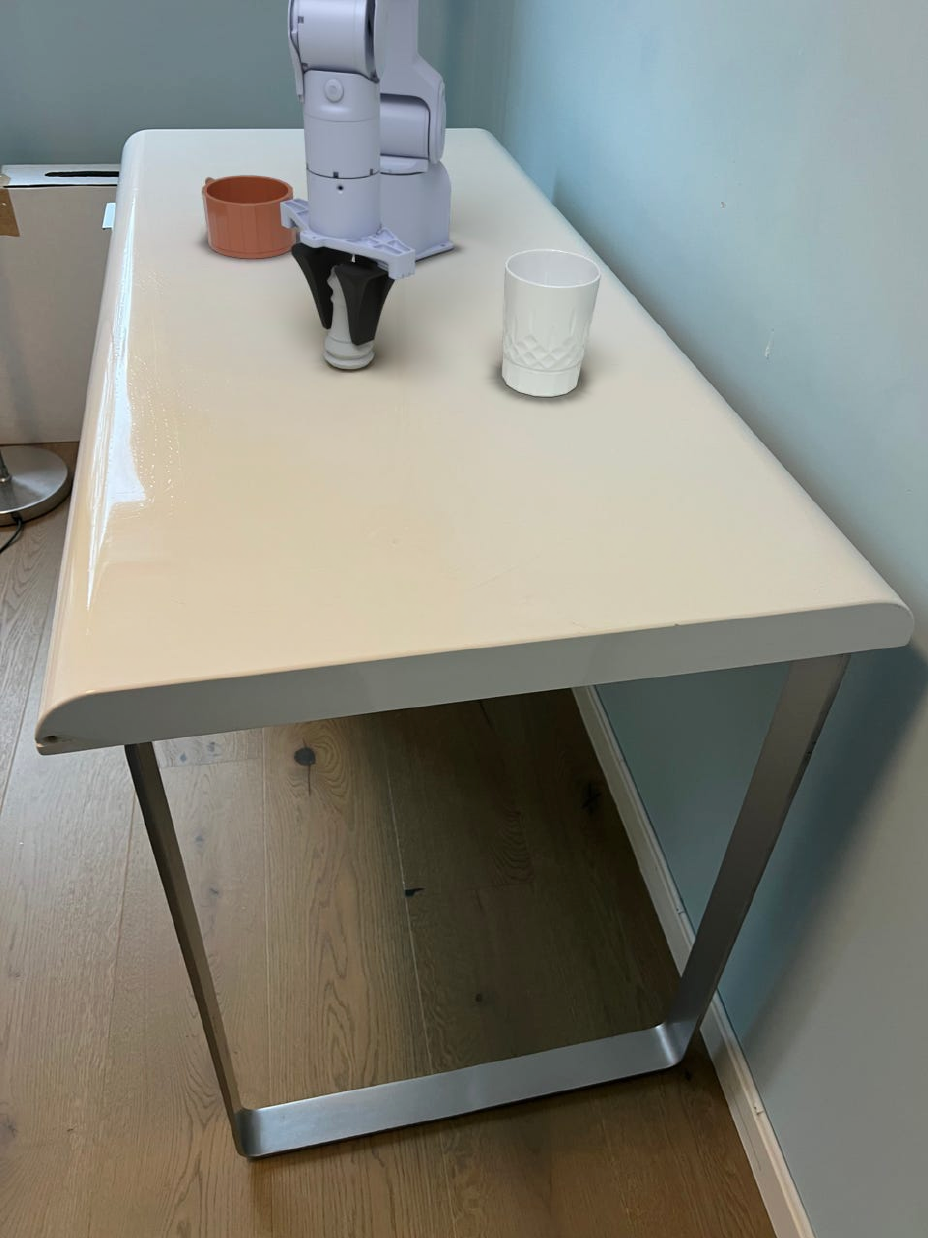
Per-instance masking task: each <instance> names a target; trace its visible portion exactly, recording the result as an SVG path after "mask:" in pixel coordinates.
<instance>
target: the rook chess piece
mask: <svg viewBox="0 0 928 1238" xmlns="http://www.w3.org/2000/svg"><path fill="white" fill-rule="evenodd" d="M341 265H342V264H341ZM335 266H337V265H335ZM335 266H334V267H335ZM334 267H333V269H331V275H330V277H329V278H328V280H327V282H328V284H329V285H330V287H331V288H332V289H333V295H332V296H331V301H332V302H333V319H332V326H331V329H328V334H327V335H326V337H325V339H324V342H323V346H324V351H323V356H324V358H325V359H326V361H327V362H328V364H330V365H332V366H333V367H335V368H339V369H342V370H343V369H345V370H355V369H361V368H364V367H366V366H367V365H369V364H370V363H371V361H372V360H373V358H374V356H375V352H374V350H373V348H374V342H373V341H370V342H367V343H365V344H362V345H359V346H356V345H354V344H352V341H351V338H350V334H349V326H348V315H347V307H346V302H345V298H344V294H343V291H342V288H341V285H340V283H339V280H338V278H337V276H336V274H335V272H334Z"/></svg>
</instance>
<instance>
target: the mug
mask: <svg viewBox="0 0 928 1238" xmlns="http://www.w3.org/2000/svg"><path fill="white" fill-rule="evenodd" d="M201 196H202V197H201V198H202V205H203V213H204V221H205V229H206V237H207V242H208V246H209V247H210V248H211V250H213V251H215V252H216V253H218V254H220V255H223V256H225V257H230V258H236V259H247V260H248V259H249V260H252V259H254V260H255V259H265V258H267V259H268V258H272V257H277V256H281V255H284V254H286V253H288V252H290V251H291V247H292V246H293V245H294V244H297V233H296V227H295V228H292V229H288V228H286V227H284V226H282V222H281V209H280V203H281V202H284V201H288V200H292V199H294V188H293V186H292V185H291V184H289V183H288V182H286V181H285V180H282V179H279V178H275V177H270V176H265V175H264V176H263V175H255V174H253V175H251V174H246V175H245V174H241V175H231V176H224V177H219V178H213V177H211V176H208V177H206V178H205V180H204V185H203V186H202V188H201Z"/></svg>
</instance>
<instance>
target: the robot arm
mask: <svg viewBox="0 0 928 1238" xmlns="http://www.w3.org/2000/svg"><path fill="white" fill-rule="evenodd" d="M287 38H288V48H289V49H288V50H289V56H290V60H291V64H292V68H293V74H294V80H295V94H296V98H297V99H296V100H297V102H301V103H302V118H303V133H304V134H303V135H304V153H305V154H304V155H305V173H306V174H305V176H306V191H307V192H306V193H307V200H305V199H302V198H300V197H297V198H293V199H292V200H288V201H284V202H281V203H280V209H281V222H282V226H284V227H286V228H288V229H292V228H295V229H297V230H299V231H300V233H299V241H300V242H296V244H294V245H293V246H292V247H291V250H290V251H291V252H290V253H291V256H292V257H293V259H294V261H296V263H297V265H298V267H299V268H300V270H301V272H302V274H303V277H305V280H306V282H307V285H308V286H309V289H310V292H311V295H312V299H313V300H314V305H315V307H316V308H315V309H316V311H317V314H318V317H319V320H320V323H321V327H322V328H323V329H325V330H327V331H329V330H330V329H331V326H332V319H333V302H332V301H331V296H332V295H333V289H332V288H331V287H330V285H329V284H328V282H327V280H328V278H329V277H330V275H331V269H333V267H334V266H335V265H337V266H335V267H334V272H335V274H336V276H337V278H338V280H339V283H340V285H341V288H342V291H343V294H344V298H345V302H346V307H347V315H348V326H349V334H350V338H351V341H352V344H354V345H356V346H359V345H362V344H365V343H367V342H370V341H372V342H373V341H375V339H376V333H377V330H378V327H379V322H380V319H381V315H382V311H383V309H384V305H385V302H386V300H387V299H388V295H389V293H390V291H391V289H392V287H393V285H394V284H395V282H396V281H399V280H403V279H406V278H408V277H411V276H414V275H415V274H416V261H417V260H421V259H424V258H427V257H430V256H433V255H437V254H440V253H442V252H446V251H449V250H452V249H454V247H455V243H454V242H452V241H451V240H450V223H451V221H450V220H451V201H452V183H451V178H450V175H449V173H448V172H449V171H448V170H447V168H446V166H445V165H444V163H442V161H440V160H441V159H442V158H443V155H444V151H445V150H444V149H445V141H446V132H447V131H446V129H447V128H446V127H447V104H446V98H445V96H446V89H445V88H446V84H445V82H444V78H443V77H442V75H441V74H440V73H439V72H438V71H437V70H436V69H435V68H434V67H433V66H431V65H430V64H429V63H428V62H427V61H426V60H425V59H424V58H423V57H422V56H421V55H420V54H419V0H288V6H287ZM353 257H354V261H353ZM341 264H342V265H341Z"/></svg>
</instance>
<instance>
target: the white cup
mask: <svg viewBox="0 0 928 1238" xmlns="http://www.w3.org/2000/svg"><path fill="white" fill-rule="evenodd" d="M601 278H602V268H601V267H600V266H599V264H598V263H596V262H595V261H594V260H592V259H591V258H589V257H586V256H585V255H582V254H579V253H576V252H572V251H567V250H562V249H555V248H554V249H553V248H552V249H551V248H534V249H533V248H532V249H527V250H523V251H519V252H516V253H514V254H512V255H510V256H509V257H508V258H506V261H505V262H504V280H503V284H504V285H503V299H502V300H503V302H502V303H503V305H502V338H501V340H502V342H501V343H502V365H501V377H502V378H503V380H504V382H505V384H506V385H507V386H508V387H510V388H511V389H513V390H514V391H516V392H519V393H520V394H521V393H522V394H526V395H529V396H533V397H544V398H545V397H550V398H551V397H552V398H553V397H557V396H558V397H559V396H562V395H566V394H568V393H570V392H571V391H572V390H574V389H575V388H576V387H577V385H578V381H579V376H580V372H581V367H582V363H583V358H584V357H585V354H586V349H587V345H588V342H589V336H590V331H591V327H592V324H593V318H594V312H595V307H596V302H597V297H598V292H599V287H600V283H601Z"/></svg>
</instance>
